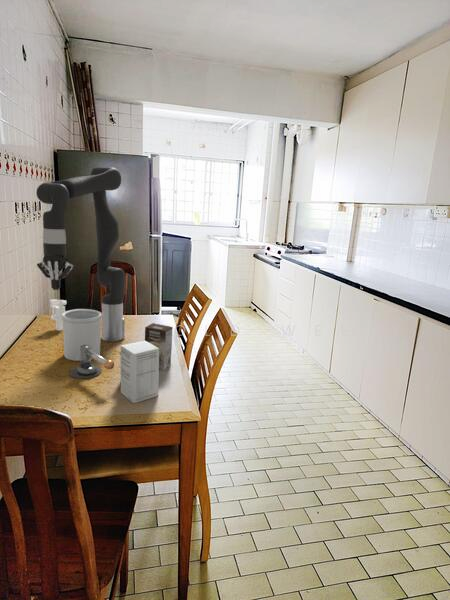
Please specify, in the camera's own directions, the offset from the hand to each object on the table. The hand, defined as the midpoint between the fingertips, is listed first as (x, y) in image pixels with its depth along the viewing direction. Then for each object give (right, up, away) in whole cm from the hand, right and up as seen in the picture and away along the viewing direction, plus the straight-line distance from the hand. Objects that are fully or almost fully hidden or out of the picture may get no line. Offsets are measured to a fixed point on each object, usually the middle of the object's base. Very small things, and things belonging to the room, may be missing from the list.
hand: (56, 289), depth 142 cm
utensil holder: (+4, -26, +17) cm, 31 cm away
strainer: (-18, -18, +46) cm, 53 cm away
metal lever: (+16, -31, -5) cm, 36 cm away
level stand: (+29, -33, -4) cm, 44 cm away
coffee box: (+35, -30, +11) cm, 47 cm away
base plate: (+11, -30, +1) cm, 32 cm away
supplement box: (+33, -35, -13) cm, 50 cm away
